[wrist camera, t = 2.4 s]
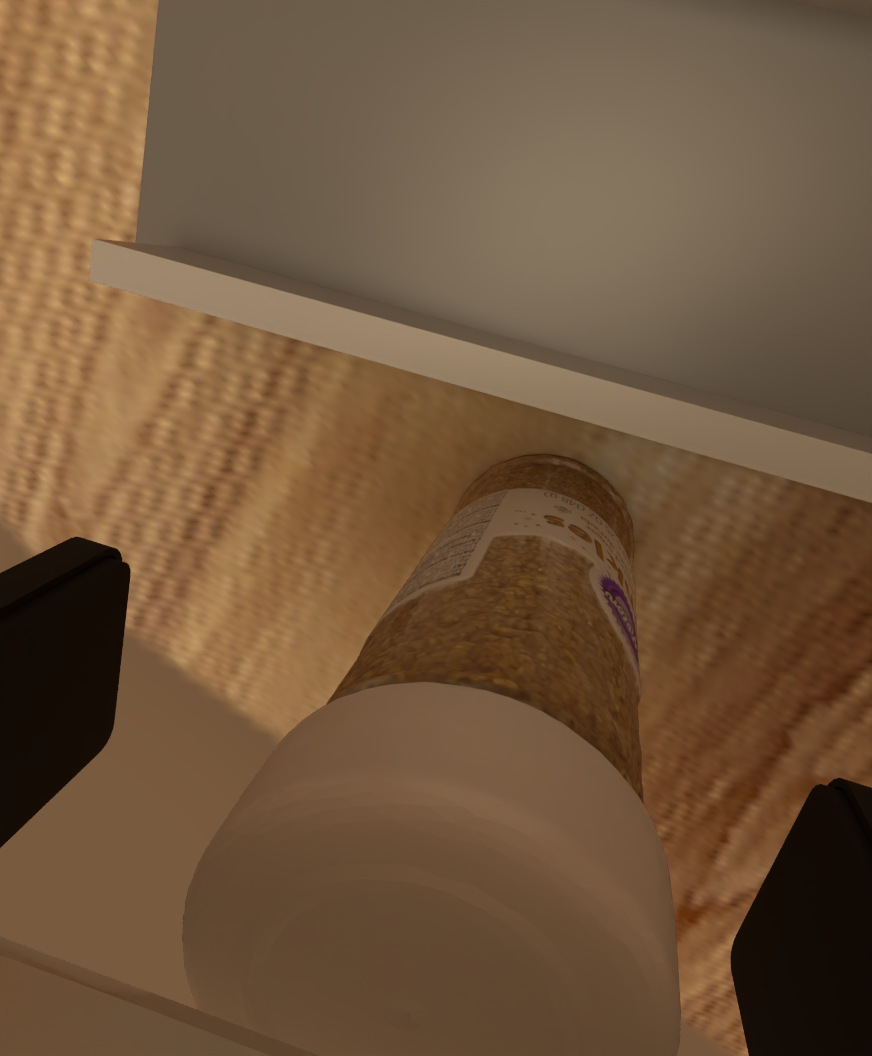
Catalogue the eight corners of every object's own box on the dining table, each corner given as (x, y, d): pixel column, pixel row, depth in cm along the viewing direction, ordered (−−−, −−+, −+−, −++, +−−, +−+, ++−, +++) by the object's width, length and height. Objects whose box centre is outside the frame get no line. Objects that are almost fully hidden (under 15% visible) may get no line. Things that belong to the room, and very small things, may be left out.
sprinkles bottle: (671, 557, 18) (810, 1138, 6) (524, 652, 20) (384, 1267, 7) (556, 409, 18) (436, 695, 5) (415, 519, 19) (67, 936, 7)
